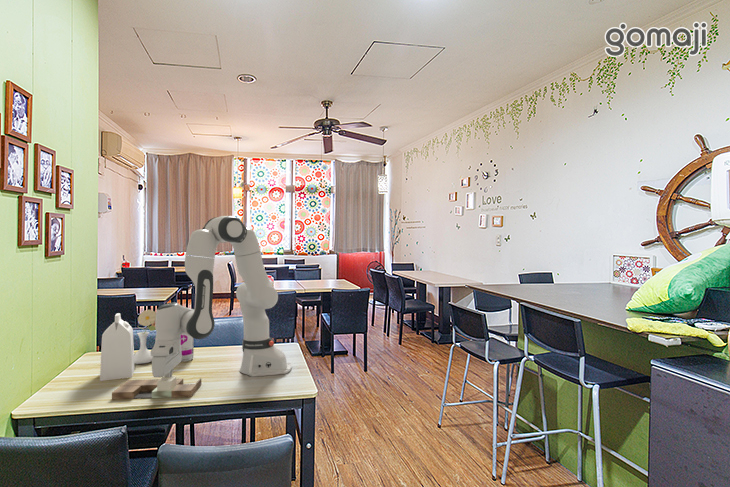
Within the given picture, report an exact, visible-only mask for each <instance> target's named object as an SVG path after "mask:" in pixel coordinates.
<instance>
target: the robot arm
mask: <svg viewBox="0 0 730 487" xmlns="http://www.w3.org/2000/svg"><path fill="white" fill-rule="evenodd" d="M221 243H223V244H225V243H230V244H231V246H232V249H233V253H234V258H235V264H236V267H237V273H238V274H239V276H240V277H241V279H242V280H243V282H242V283H241V284H239V285H238V287H236V288H237V289H236V290H235V297H236V298H237V300H238V303H239V306H240V311H241V315H242V321H243V339H242V344H241V345H242V348H241V349H242V358H241V359H242V360H241V365H240V368H239V372H240V373H242V374H244V375H248V376H249V377H263V376H273V375H274V376H275V375H284V374H288V373H290V371H291V370H292V368H293V367H292V364H291V363H290V362H288V361H287V356H286V354H285V352H283V351H282V350H280V348H277V347H276V346H275V345H274V344H275V340H274V338H272V337H270V319H269V317H268V315H267V313H266V310H269V309H272V308H273V307H275V306H276V304H277V303H278V301H279V300H278V299H279V294H278V293H279V292H278V291H277V289H276V288H275V287H274V285H273V284H272V282H271V280H270V279H269V276H268V274H267V272H266V269H265V266H264V261H263V258H262V256H263V255H262V253H261V247H260V244H259V241H258V238H257V235H256V233H255V231H254V230H253V229H252V228H249V227H246V226H245V224H244V223H243V221H242V220H241V219H240V218H238V217H236V216H233V215H221V216H218V217H217V216H215V217H212V218H211V219H209V220H207V222H206V223H205V225H204V226H203V228H200V229H196V230H194V231H192V232H191V234H190V237H189V240H188V243H187V246H186V251H185V258H184V270H185V273H186V275H187V277H189V278H190V280H191V281H192V283H193V285H194V288H195V289H194V290H195V296H194V297H195V298H194V308H190V307H186V306H184V305H182V304H180V303H179V302H167V303H163V304H162V305H160V306H158V308H157V309H156V311H155V312H156V320H155V322H154V323H155V324H154V326H155V329H156V330H155V331H156V334H155V341H154V342H155V343H154V345H153V347H152V348H151V350H150V351H151V356H153V358H152V362H151V371H152V376H153V377H154V378H162V377H173V373H174V368H175V367H177V366H178V365H179V364H180V363H182V362H181V360H182V352H181V334H183V333H186V334H189V335H190V336H191V337H193V340H194V339H195V340H203V339H206V338H208V337H209V336H210V335H211V334H212V333H213V331H214V329H215V326H216V325H215V324H216V323H215V318H214V316H213V315H214V313H213V302H214V301H213V298H214V296H213V295H214V268H215V267H214V266H215V257H216V250H217V248H218V246H219V245H220V244H221Z"/></svg>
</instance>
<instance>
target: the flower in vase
mask: <svg viewBox="0 0 730 487" xmlns="http://www.w3.org/2000/svg"><path fill="white" fill-rule="evenodd" d="M156 312H157V311H155V310H152V309H146V310H144V311H141V312H140V314H139V316H138V317H137V321H138V324H139V325H141V326H144V327H147V328H146V329H145V328H142V327H139V326H138V329H141V330H143V332H142V331H141V332H137V333H136V334H137V336H138V338H139V342H140V347H139V349H138V350H137V351H136V352H134V365H142V364H148V363H152V358H153V356H151V350H150V349H148V348H147V337H148V335H149V334H150V332H153V331H156V329H155V325H153V324H154V323H155V320H156ZM147 330H149V331H150V332H149V331H147Z"/></svg>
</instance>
